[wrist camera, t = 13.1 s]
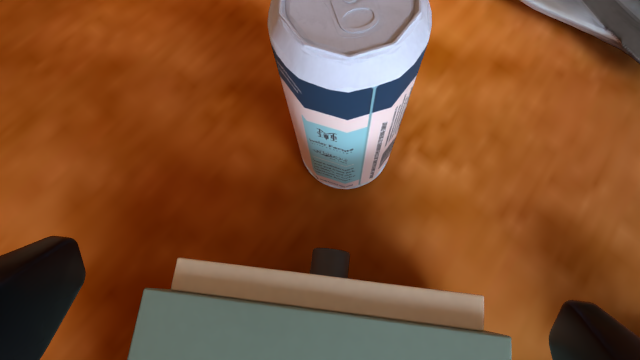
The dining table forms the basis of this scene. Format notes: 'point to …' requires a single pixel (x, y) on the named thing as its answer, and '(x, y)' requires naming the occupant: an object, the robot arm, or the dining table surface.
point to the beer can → (348, 79)
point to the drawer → (330, 291)
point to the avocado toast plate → (599, 19)
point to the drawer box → (292, 333)
